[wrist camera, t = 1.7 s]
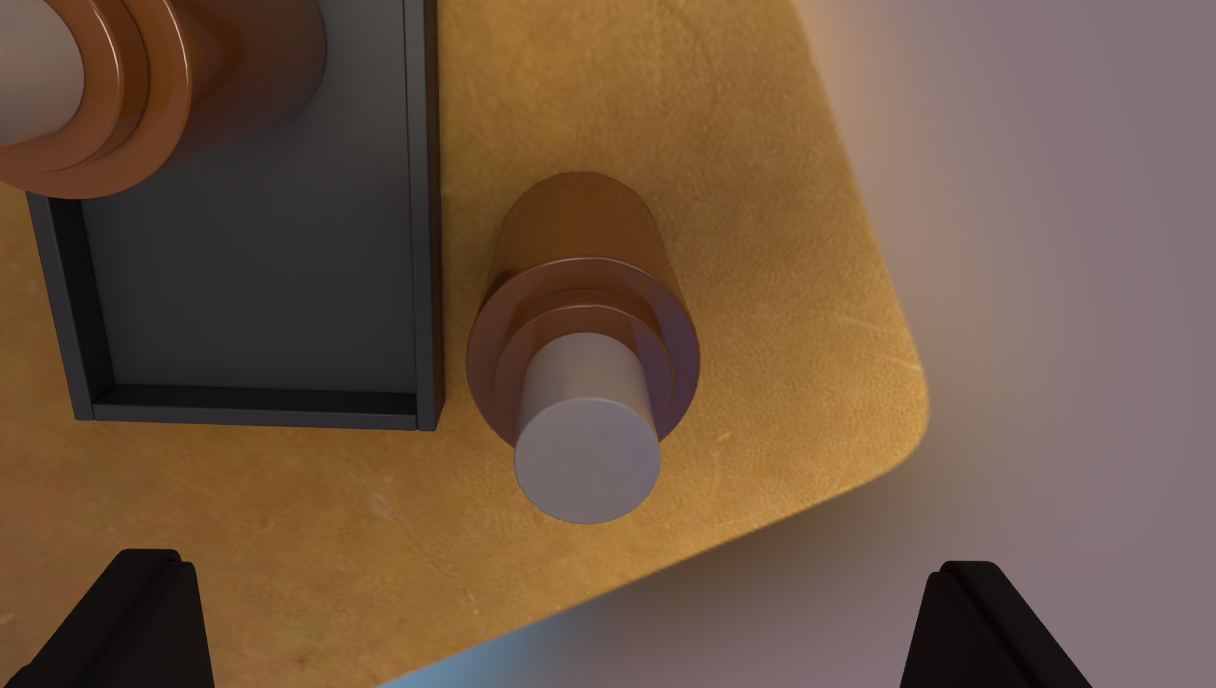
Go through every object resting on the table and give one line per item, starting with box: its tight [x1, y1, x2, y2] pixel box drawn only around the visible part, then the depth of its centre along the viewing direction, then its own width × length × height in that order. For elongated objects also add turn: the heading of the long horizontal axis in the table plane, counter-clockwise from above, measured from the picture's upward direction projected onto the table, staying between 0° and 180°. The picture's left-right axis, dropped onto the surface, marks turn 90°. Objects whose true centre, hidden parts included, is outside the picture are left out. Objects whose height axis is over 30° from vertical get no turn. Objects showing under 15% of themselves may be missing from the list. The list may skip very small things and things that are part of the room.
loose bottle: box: [466, 172, 701, 524], centre depth 20 cm, size 5×5×13 cm
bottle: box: [0, 0, 326, 199], centre depth 17 cm, size 5×5×13 cm
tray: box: [25, 0, 445, 431], centre depth 22 cm, size 11×23×2 cm, turn 176°
